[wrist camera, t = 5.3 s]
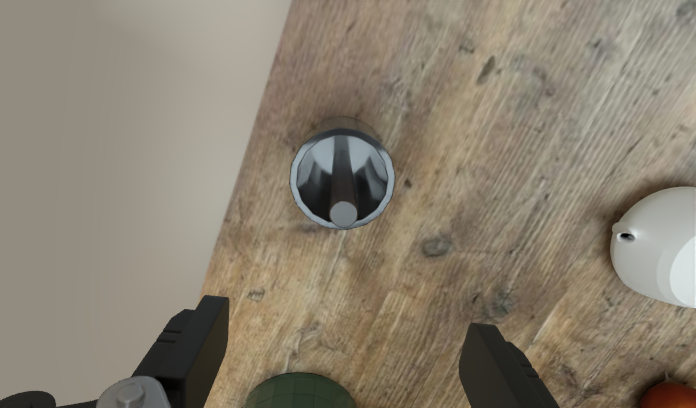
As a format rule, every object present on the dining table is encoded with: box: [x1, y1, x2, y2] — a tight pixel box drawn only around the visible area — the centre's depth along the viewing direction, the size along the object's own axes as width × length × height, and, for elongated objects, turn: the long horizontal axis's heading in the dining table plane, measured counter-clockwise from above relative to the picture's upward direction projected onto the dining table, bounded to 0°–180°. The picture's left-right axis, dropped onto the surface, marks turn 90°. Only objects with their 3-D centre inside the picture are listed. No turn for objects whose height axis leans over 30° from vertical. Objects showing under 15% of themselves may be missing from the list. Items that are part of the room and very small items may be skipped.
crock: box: [289, 116, 396, 230], centre depth 35 cm, size 8×8×9 cm
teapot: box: [610, 187, 696, 308], centre depth 38 cm, size 20×12×10 cm, turn 73°
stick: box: [329, 151, 358, 228], centre depth 31 cm, size 2×2×16 cm
